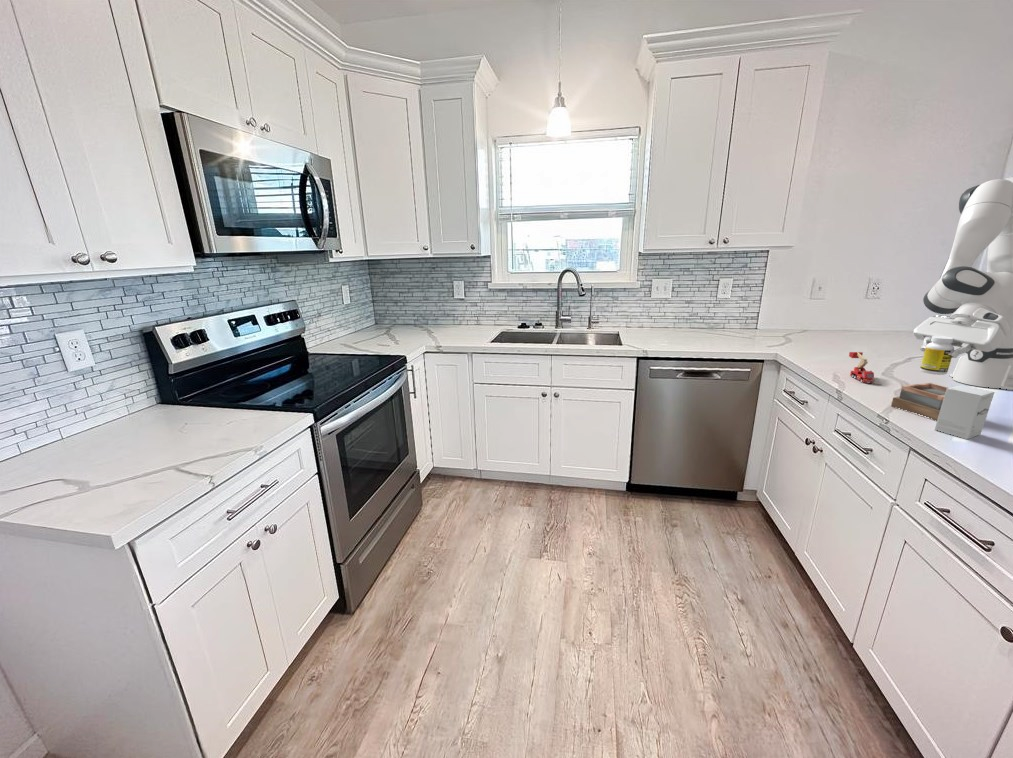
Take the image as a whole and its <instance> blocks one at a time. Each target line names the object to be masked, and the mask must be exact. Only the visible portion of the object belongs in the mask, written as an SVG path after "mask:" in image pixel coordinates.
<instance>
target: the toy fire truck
mask: <svg viewBox="0 0 1013 758" xmlns="http://www.w3.org/2000/svg"><path fill="white" fill-rule="evenodd" d="M848 353H849V354H848V356H849V358H852V359H860V361H859V363H858V365H857V366H854V368H853V370H850V374H849V376H851V378H852V377H853V379H854V378H855V379H854V380H858V381H860V383H862V382H863V383H864V384H872V383H874V377H875V373H874V372H873V371H872V370H866V369H865V368H866V365H867V364H868V363H869V362H868V358H865V357H864V356H863V353H864V352H863V351H849V352H848Z"/></svg>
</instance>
